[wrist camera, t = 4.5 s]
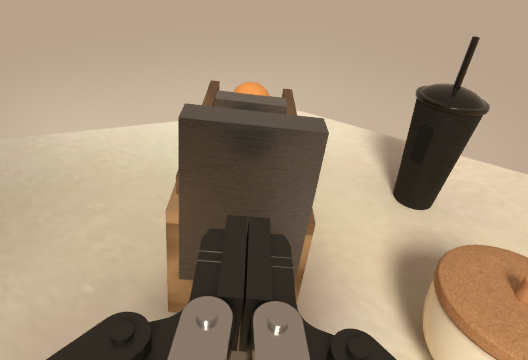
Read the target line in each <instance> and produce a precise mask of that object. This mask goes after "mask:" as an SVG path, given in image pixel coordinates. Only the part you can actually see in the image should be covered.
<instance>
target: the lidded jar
mask: <svg viewBox="0 0 528 360" xmlns="http://www.w3.org/2000/svg"><path fill="white" fill-rule="evenodd" d="M422 321H423V333H424V337H425V341H426V344H427V347H428V349H429V352H430V354H431V356H432V358H433V359H434V360H528V258H527V257H525V256H522V255H520V254H517V253H514V252H511V251H509V250H505V249H501V248H497V247H491V246H484V245H467V246H462V247H458V248H455V249H452V250H450V251H449V252H447V253H446V254H445V255H444V256H443V257H442V258H441V259H440V261H439V263H438V266H437V268H436V270H435V273H434V278H433V280H432V282H431V285H430V287H429V289H428V292H427V295H426V298H425V302H424V309H423V316H422Z"/></svg>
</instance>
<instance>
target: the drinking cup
mask: <svg viewBox="0 0 528 360" xmlns="http://www.w3.org/2000/svg"><path fill="white" fill-rule="evenodd" d="M479 39H480V38H479V37H472V40H471V42H470V45H469V47H468V50H467V52H466V55H465V58H464V60H463V63H462V65H461V68H460V71H459V73H458V76H457V78H456V81H455V83H454V85H453V84H434V85H430V86H422V87H419V88H418V89H417V90H416V97H417V99H416V103H415V108H414V112H413V116H412V120H411V124H410V128H409V132H408V136H407V140H406V144H405V148H404V152H403V156H402V160H401V165H400V169H399V173H398V177H397V181H396V185H395V189H394V197H395V199H396V200H397V201H398V202H400V203H401V204H403V205H404V206H407V207H409V208H412V209H417V210H425V209H428V208H430V207H431V206H432V204H433V202H434V201H435V199H436V197H437V195H438V194H439V192H440V190H441V188H442V186H443V185H444V183H445V181H446V179H447V178H448V176H449V174H450V172H451V171H452V169H453V167H454V165H455V164H456V162H457V160H458V158H459V157H460V155H461V153H462V151H463V150H464V148H465V146H466V144H467V142H468V141H469V139H470V137H471V136H472V134H473V132H474V130H475V128H476V127H477V125H478V123H479V122H480V120H481V118H482V116H483V115H484V114H486V113H487V112H488V111H489V108H490V106H489V104H488V103H487V102H485V101H484V100H483V99H481V98H480V97H479V96H478V95H477V94H476V93H474V92H472V91H470V90H469V89H466V88H464V87H461V84H462V81H463V79H464V76H465V74H466V71H467V69H468V66H469V64H470V61H471V59H472V56H473V53H474V51H475V49H476V46H477V44H478V41H479Z"/></svg>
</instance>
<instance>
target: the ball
mask: <svg viewBox="0 0 528 360" xmlns="http://www.w3.org/2000/svg"><path fill="white" fill-rule="evenodd" d="M234 92H235V93H244V94H253V95H262V96H269V94H268V92H267V90H266V89H265V88H264V87H263V86H261V85H260V84H258V83H254V82H246V83H243V84H241V85H239V86H238V87H237V88H236V89H235V90H234Z"/></svg>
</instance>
